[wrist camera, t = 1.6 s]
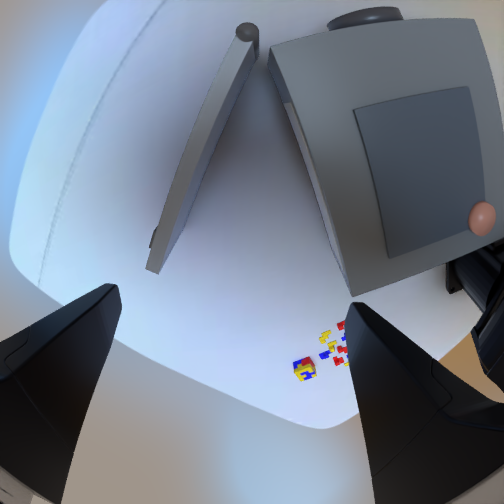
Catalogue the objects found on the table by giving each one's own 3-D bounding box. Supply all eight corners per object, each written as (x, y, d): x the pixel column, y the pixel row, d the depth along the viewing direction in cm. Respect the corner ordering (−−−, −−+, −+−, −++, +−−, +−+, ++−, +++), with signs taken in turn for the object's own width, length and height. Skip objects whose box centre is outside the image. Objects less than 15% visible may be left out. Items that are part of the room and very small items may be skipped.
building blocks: (378, 352, 28) (382, 363, 26) (307, 379, 29) (308, 392, 28) (362, 309, 25) (367, 322, 23) (281, 343, 27) (282, 356, 25)
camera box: (463, 204, 20) (514, 240, 14) (331, 249, 22) (354, 305, 16) (420, 20, 13) (475, 0, 7) (260, 51, 16) (260, 23, 10)
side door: (183, 231, 21) (160, 275, 16) (166, 223, 21) (137, 265, 16) (261, 50, 16) (262, 27, 10) (241, 42, 15) (232, 16, 10)
